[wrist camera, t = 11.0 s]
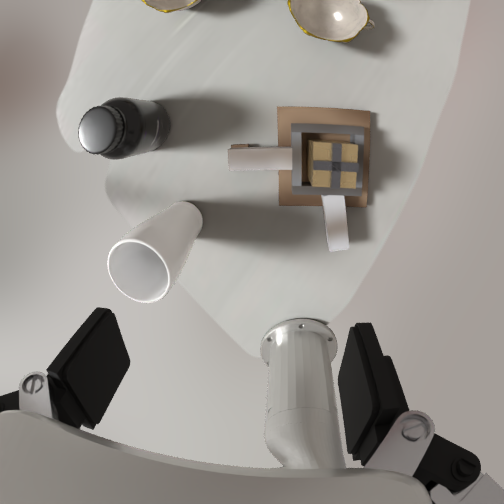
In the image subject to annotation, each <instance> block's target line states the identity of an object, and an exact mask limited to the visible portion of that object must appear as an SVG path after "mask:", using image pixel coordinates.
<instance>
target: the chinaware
mask: <svg viewBox="0 0 504 504" xmlns="http://www.w3.org/2000/svg"><path fill="white" fill-rule="evenodd" d="M200 1H201V0H142V2H144V3H145V4H146V5H148V6H150V7H152V8H154V9H156V10H158V11H161V12H164V13H171V12H173V11H181V10H185V9H189V8H190V7H193V6H195V5H196V4H198V3H199V2H200ZM360 3H361V1H360V0H288V2H287V4H288V6H289V10H290V12H291V14H292V16H293V17H294V19H296V20H295V21H296V22H297V24H298V26H299V27H300V28H301V29H302V30H303V32H304V33H305V34H307V35H309V36H313V37H315V38H319V39H323V40H328V41H335V42H350V41H351V40H352V39H354V38H355V37H356V36H357V35H358V34H359V33H360V32H359V31H361V30H362V29H366V30H368V29H373V28H374V27H375V24H374V22H373V21H372V20H370V17H369V14H368V11H367V9H366V8H365V7H364V6H363V4H360ZM368 22H369V23H371V24H372V26H366V25H367V23H368Z"/></svg>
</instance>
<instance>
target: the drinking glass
mask: <svg viewBox="0 0 504 504" xmlns="http://www.w3.org/2000/svg"><path fill="white" fill-rule="evenodd" d="M202 225H203V219H202V215H201V213H200V211H199V210H198V208H197V207H196V206H194V205H193V204H191V203H189V202H185V201H179V202H176V203H173V204H172V205H170V206H169V207H168V208H166V209H165V210H163V211H161V212H159V213H158V214H156V215H154V216H153V217H151V218H149V219H147V220H146V221H144V222H142V223H140V224H139V225H137V226H136V227H134V228H133V229H132V230H130V231H129V232H128V233H127V234H126V235H124V236H123V237H122V238H121V239H120V240H119V241H118V242H117V243H116V244H115V245H114V246H113V247H112V249H111V251H110V253H109V256H108V262H107V263H108V271H109V274H110V277H111V279H112V281H113V283H114V284H115V286H116V287H117V288H118V289H119V290H120V291H121V292H122V293H123V294H124V295H126V296H127V297H129V298H130V299H132V300H135V301H138V302H142V303H152V302H156V301H159V300H161V299H162V298H164V297H165V296H166V294H167V293H168V292H169V290H170V289H171V288H172V286H173V285H174V283H175V282H176V280H177V278H178V277H179V275H180V273H181V271H182V269H183V267H184V265H185V263H186V261H187V258H188V256H189V254H190V251H191V249H192V247H193V244H194V242H195V240H196V238H197V236H198V234H199V233H200V231H201V229H202Z"/></svg>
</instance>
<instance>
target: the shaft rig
mask: <svg viewBox="0 0 504 504" xmlns="http://www.w3.org/2000/svg"><path fill="white" fill-rule="evenodd" d="M277 115H278V147H249V144H237V145H231V148H230V149H228V164H229V171H236V170H279V206H323V212H324V220H325V228H326V236H327V244H328V247H329V250H330V252H333V251H339V250H345V249H349V239H348V228H347V217H346V208H345V207H366V206H367V193H368V178H369V157H370V111H363V110H352V109H338V108H320V107H277ZM307 139H323V140H339V141H346V142H350V143H353V144H357V145H358V158H357V163H359V170H358V172H357V176H356V189H354V188H340V189H331V188H330V187H312V185H311V183H310V181H309V179H308V177H307V175H306V174H307Z"/></svg>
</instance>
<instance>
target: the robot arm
mask: <svg viewBox="0 0 504 504" xmlns="http://www.w3.org/2000/svg"><path fill="white" fill-rule="evenodd" d="M260 352H261V357H262V360H263V361H264V363H265V364H266V365H267V366H268V367H269V373H268V388H267V389H268V390H267V403H266V416H265V431H264V436H265V437H264V438H265V442H266V445H267V448H268V449H269V451H270V452H271V453H272V455H273V456H274V457H275V458H276V459H277V460H278V461H279V462H280V463H281V464H282V465H283V467H280V468H270V469H266V468H265V469H264V468H250V467H238V466H229V465H220V464H213V463H206V462H199V461H193V460H187V459H182V458H177V457H172V456H167V455H163V454H159V453H154V452H150V451H146V450H142V449H138V448H134V447H131V446H128V445H124V444H121V443H118V442H114V441H111V440H108V439H105V438H102V437H99V436H96V435H94V434H91V433H88V432H85V431H82V430H80V427H81V425H83V426H85V427H87V428H90V429H94V428H95V426H96V424H99V423H100V421H101V419H102V417H103V415H104V413H105V411H106V410H107V407H108V406H109V404H110V402H111V400H112V398H113V396H114V394H115V392H116V390H117V388H118V387H119V385H120V383H121V381H122V379H123V377H124V375H125V374H126V372H127V370H128V368H129V366H130V358H129V355H128V353H127V350H126V347H125V344H124V341H123V339H122V335H121V332H120V329H119V326H118V323H117V320H116V317H115V314H114V313H112V311H111V310H110V309H107V308H96V309H95V310H94V311H93V312H92V314H91V315H90V316H89V317H88V318H87V320H86V321H85V322H84V323H83V324H82V325H81V327H80V328H79V329H78V330H77V332H76V333H75V334H74V335H73V336H72V338H71V339H70V340H69V341H68V343H67V344H66V345H65V347H64V348H63V349H62V350H61V352H60V353H59V354H58V355H57V357H56V358H55V359H54V361H53V362H52V363H51V365H50V366H49V367H48V368H47V372H48V375H47V376H46V375H45V374H44V373H42V372H32V373H29V374H27V375H26V376H25V377H24V378H23V379H22V380H21V382H20V385H19V390H18V391H15V392H12V393H9V394H6V395H3V396H0V504H504V490H503V489H502V488H501V487H500V486H499V485H498V484H497V483H496V482H495V481H494V480H493V479H492V478H491V477H490V476H489V475H488V474H487V473H485V475H483V474H482V473H481V472H480V471H481V465H480V461H479V459H478V458H477V456H476V455H474V454H473V453H472V452H470V451H468V450H466V449H464V448H462V447H460V446H458V445H456V444H454V443H452V442H450V441H448V440H446V439H444V438H442V437H440V436H439V435H437V434H435V433H434V432H435V425H434V423H433V420H432V419H431V418H430V417H429V416H428V415H427V414H425V413H423V412H420V411H413V410H412V411H409V408H408V405H407V402H406V399H405V396H404V393H403V390H402V387H401V384H400V381H399V379H398V375H397V373H396V370H395V367H394V365H393V362H392V359H391V357H390V356H383V353H382V350H381V348H380V345H379V342H378V339H377V336H376V334H375V331H374V328H373V326H372V324H371V323H356V324H355V327H351V328H350V331H349V335H348V339H347V343H346V348H345V352H344V356H343V360H342V363H341V367H340V371H339V375H338V386H339V392H340V399H341V406H342V413H343V420H344V427H345V435H346V444H347V451H348V454H352V455H353V461H355V460H361V465H362V466H364V468H346V464H345V460H344V455H343V449H342V443H341V436H340V428H339V420H338V412H337V404H336V397H335V389H334V382H333V376H332V369H331V362H332V361H333V359H334V358H335V356H336V353H337V340H336V337H335V335H334V333H333V332H332V330H331V329H330V328H328V327H327V326H326V325H324V324H323V323H320V322H318V321H315V320H310V319H293V320H288V321H284V322H282V323H280V324H277V325H276V326H274V327H273V328H271V329H270V330H269V331H268V332H267V333H266V334H265V336H264V337H263V340H262V342H261V348H260Z"/></svg>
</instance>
